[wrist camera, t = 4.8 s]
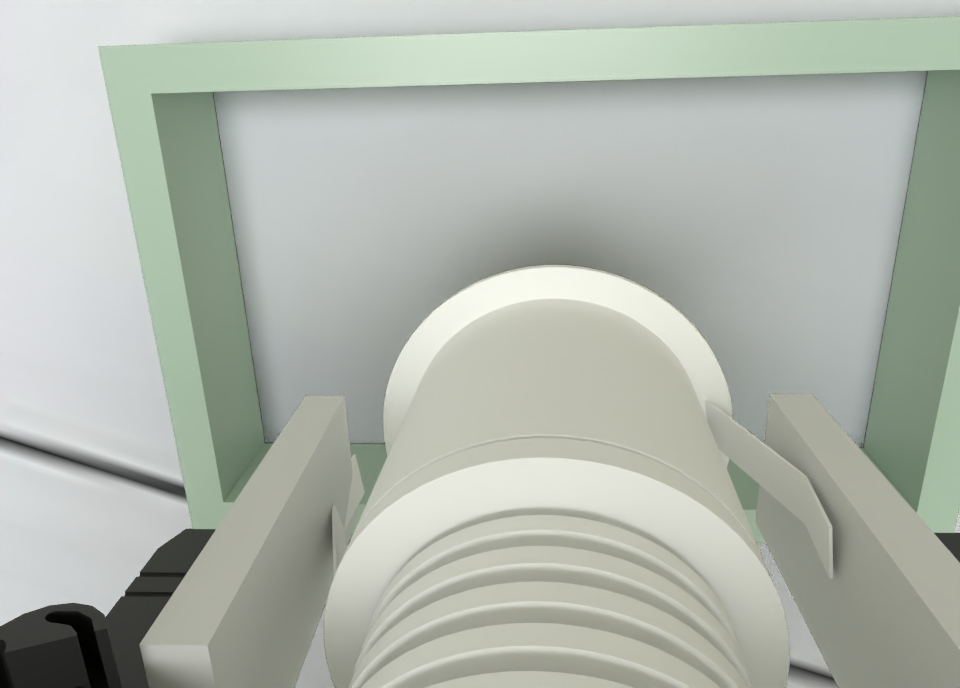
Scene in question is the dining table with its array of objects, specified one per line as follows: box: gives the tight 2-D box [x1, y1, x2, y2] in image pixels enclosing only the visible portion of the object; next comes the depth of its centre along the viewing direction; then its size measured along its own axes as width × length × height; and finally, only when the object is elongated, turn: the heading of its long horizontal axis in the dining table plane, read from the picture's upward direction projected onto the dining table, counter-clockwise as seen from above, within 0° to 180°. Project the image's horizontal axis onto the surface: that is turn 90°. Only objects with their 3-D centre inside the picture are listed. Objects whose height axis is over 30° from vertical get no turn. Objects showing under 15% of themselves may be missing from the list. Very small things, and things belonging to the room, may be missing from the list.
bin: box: [98, 16, 960, 543], centre depth 23 cm, size 24×15×4 cm, turn 92°
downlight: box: [324, 265, 833, 688], centre depth 11 cm, size 8×7×10 cm
